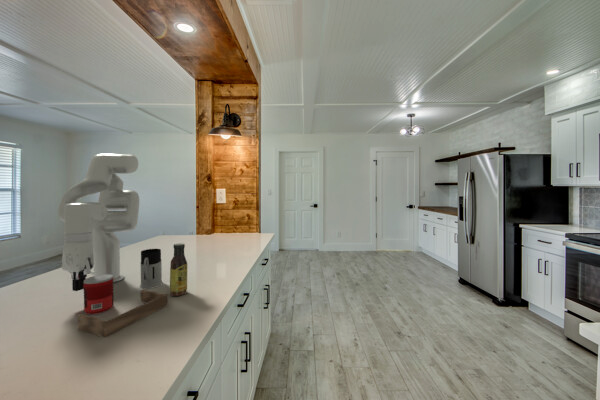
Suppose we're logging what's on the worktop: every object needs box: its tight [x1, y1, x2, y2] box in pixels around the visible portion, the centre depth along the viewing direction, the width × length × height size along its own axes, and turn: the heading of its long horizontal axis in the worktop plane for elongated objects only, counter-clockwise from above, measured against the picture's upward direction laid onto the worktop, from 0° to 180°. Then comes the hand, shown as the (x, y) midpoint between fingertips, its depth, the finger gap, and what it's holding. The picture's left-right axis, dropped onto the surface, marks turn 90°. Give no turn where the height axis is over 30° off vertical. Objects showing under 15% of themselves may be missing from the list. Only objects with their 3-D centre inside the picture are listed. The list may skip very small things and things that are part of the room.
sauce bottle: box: [169, 242, 188, 297], centre depth 100 cm, size 6×6×20 cm
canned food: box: [83, 274, 115, 315], centre depth 87 cm, size 8×8×11 cm
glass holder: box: [139, 248, 164, 289], centre depth 107 cm, size 9×14×15 cm, turn 18°
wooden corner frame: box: [77, 289, 169, 338], centre depth 82 cm, size 12×21×4 cm, turn 160°
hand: (79, 289), depth 89 cm, fingers closed
